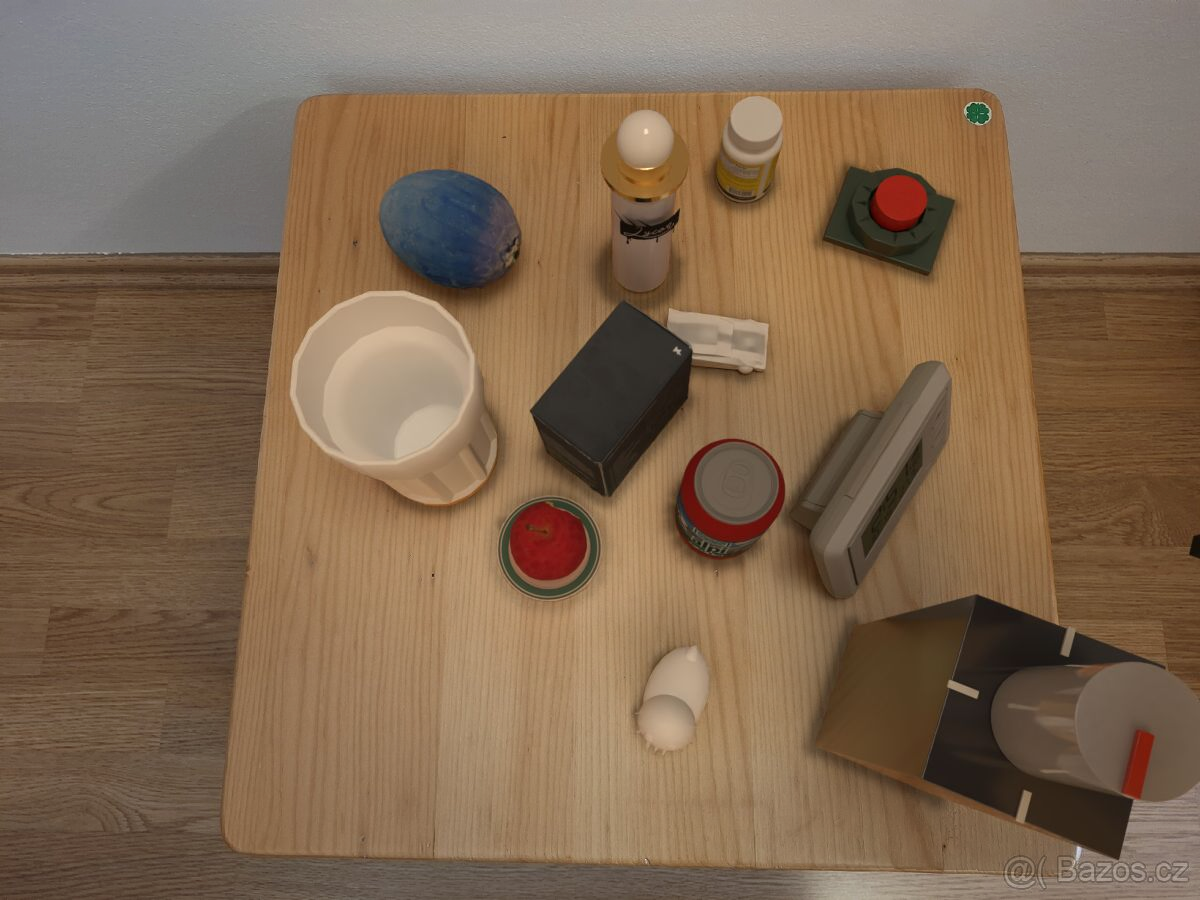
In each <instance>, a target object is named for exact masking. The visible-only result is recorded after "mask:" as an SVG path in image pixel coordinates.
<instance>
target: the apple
mask: <svg viewBox="0 0 1200 900" xmlns="http://www.w3.org/2000/svg"><path fill="white" fill-rule="evenodd" d="M601 533H602V532H601V530H600V528H599V525H598V523H597V521H596V520H595V518H594V517H593V515H592V513H590V512H589V511H588V510H587V509H586V508H585V507H584V506H583V505H582V504H580V503H579V502H577V501H575V500H573V499H570V498H568V497H564V496H559V495H541V496H537V497H533V498H530V499H528V500H526V501H524V502H523V503H521V504H519V505H518V506H516V507H515V508H514V509H513V510H512V511H511V512H510V513H509V515H507V517H506V518H505V520H504V521H503V523H502V525H501V527H500V530H499V532H498V535H497V539H496V540H497V541H496V560H497V563H498V566H499V567H498V568H499V569H500V570H501V573H502V575H503V578H504V579H505V581H507V582H508V584H509V585H510V586H511V587H512V588H513V589H514V590H516V591H517V592H519V593H520V594H521V595H523V596H525V597H527V598H530V599H533V600H536V601H540V602H541V601H542V602H555V601H561V600H564V599H568V598H570V597H573V596H575V595H576V594H578V593H579V592H581V591H582V590H583V589H585V587H587V586H588V584H589V583H591V581H592V580H593V578H594V577H595V575H596V573H597V572H598V569H599V567H600V564H601V562H602V556H603V539H602V534H601Z"/></svg>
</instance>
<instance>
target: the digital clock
mask: <svg viewBox="0 0 1200 900" xmlns="http://www.w3.org/2000/svg"><path fill="white" fill-rule="evenodd" d="M952 393H953V377H952V376H951V373H950V371H949V370H948V368H947V366H946V364H945V362H942V361H939V360H928V361H927V360H926V361H923V362H920V363H918V364H916V365H915V366H914V367H913V368H912V370H911V372H910V373H909V374H908V376H907V378H906V379H905V381H904V382H903V384H902V386H901V387H900V389H899V391H897V394H896V395H895V397H894V398H893V400H892V401H891V403H890V405H889V406H888V408H887V409H886V411H885V412H876V411H874V410H873V411H872V410H869V409H867V408H861V409H860V410H858V411H857V412H855V414H854V415H853V416H852V418H850V419H849V421H848V422H847V423H846V425H845V426H844V428H843V429H842V431H841V432H840V434H839V435H838V437H837V439H836V440H835V442H834V443H833V445H832V446H831V448H830V449H829V451H828V453H827V455H826V456H825V458H824V459H823V461H822V462H821V464H820V466H818V469H817V470H816V472H815V473H814V475H813V476H812V478H811V479H810V481H809V482H808V485H807V486H806V487H805V489H804V491H803V492H802V494H801V495H800V497H799V498H798V500H797V501H796V503H795V504H794V506H793V508H792V509H791V511H790V513H789V517H790V518H791V519H792V520H794V521H795V522H797V523H798V524H800V525H802V526H803V527H805V528H806V529H808V530H809V531H810V534H809V545H810V549H811V551H812V554H813V558H814V561H815V563H816V566H817V570H818V572H819V576H820V579H821V581H822V584H823V586H824V588H825V589H826V591H827V592H828V593H829V595H831V596H832V597H834V598H835V599H843V598H848V597H853V596H854V595H855V594H856V593H857V591H858V590H859V589H860V586H861V585H862V583H863V582H864V580H865V578H866V577H867V575H868V574H869V572H870V570H871V569H872V567H873V566H874V564H875V562H876V560H877V559H878V557H879V555H880V554H881V553H882V551H883V549H884V547H885V546H886V545H887V543H888V541H889V539H890V538H891V536H892V534H893V533H894V531H895V529H896V528H897V526H898V524H899V523H900V521H901V519H902V518H903V516H904V514H905V513H906V512H907V510H908V508H909V506H910V505H911V503H912V501H913V500H914V498H915V496H916V495H917V493H918V492H919V490H920V488H921V487H922V486H923V483H924V482H925V480H926V479H927V477H928V475H929V473H930V472H931V470H932V468H933V467H934V465H935V463H936V462H937V460H938V459H939V457H940V455H941V454H942V452H943V450H944V449H945V447H946V445H947V444H948V441H949V438H950V433H951V416H952V414H951V413H952V395H953V394H952Z"/></svg>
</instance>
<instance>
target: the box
mask: <svg viewBox="0 0 1200 900" xmlns="http://www.w3.org/2000/svg"><path fill="white" fill-rule="evenodd" d="M692 354H693V350H692V346H691V345H690V344H689V343H688V342H686V341H684V340H682V339H681V338H680V337H679V336H677V335H676V334H675V333H673V332H671V331H670V330H669V329H668V328H667V326H666V325H664V324H663V323H660V322H659V321H657V319H655V318H654V317H652V316H651V315H649V314H648V313H645V312H644V311H643V310H641V309H640V308H639V307H636V306H635V305H633V304H631V303H630V302H629V301H627V300H626V299H622V300H621V301H620V302H619V304H617V305H616V307H615V308H614V309H613V310H612V311H611V312H610V314H608V316H607V317H606V319H605V320H604V321H603V322H602V323H601V324H600V326H599V327H598V328H597V329H596V331H594V333H592V335H591V337H590V338H589V339H588V340H587V341H586V342H585V344H584V345H583V346H582V347H581V349H580V350H578V352H577V353H576V355H575V356H574V357H573V358H572V359H571V360H570V361H569V363H568V364H567V365H566V366H565V367H564V369H563V370H562V371H561V373H560V374H559V375H558V376H557V377H556V379H555V380H554V381H553V382H552V383H551V384H550V385H549V387H548V388H547V389H546V390H545V391H544V392H543V394H542V395H541V396H540V397H539V399H537V401H536V402H535V404H534V405H532V407H531V408H530V409H529V413H530V414H531V417H532V419H533V422H534V424H535V426H536V429H537V432H538V435H539V436H540V439H541V442H542V443H543V447H544V448H545V452H546V453H547V454H548V455H550V456H551V457H552V458H553V459H554V460H556V461H557V462H558V463H560V464H561V465H562V466H563V467H564V468H566V469H567V470H569V472H571V473H572V474H574V475H575V476H576V477H578V478H579V479H580V480H581V481H582V482H584V483H585V484H586V485H588V486H589V488H590V489H591V490H592V491H595V492H596V493H598V494H599V495H600V496H602V497H608V498H611V496H613V494H614V492H615V491H616V490H617V488H618V487H619V486H620V485H621V483H622V482H623V481H624V479H626V476H628V475H629V473H630V472H631V470H632V469H633V468H634V466H635V465H636V464H637V462H638V461H639V460H640V458H641V457H642V456H643V455H644V453H645V452H646V451H647V450H648V449H649V447H650V446H651V445H652V444H653V442H655V440H656V439H657V438H658V436H659V435H660V434H661V432H662V431H663V430H664V429H665V428H666V427H667V425H668V424H669V422H671V420H672V419H673V418H674V416H675V415H676V414H677V413H678V411H679V410H680V409H681V407H682V406H683V405H684V404H685V402H686V401H687V400H688V398H689V391H690V390H689V389H690V381H691V371H692V365H691V364H692Z"/></svg>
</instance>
